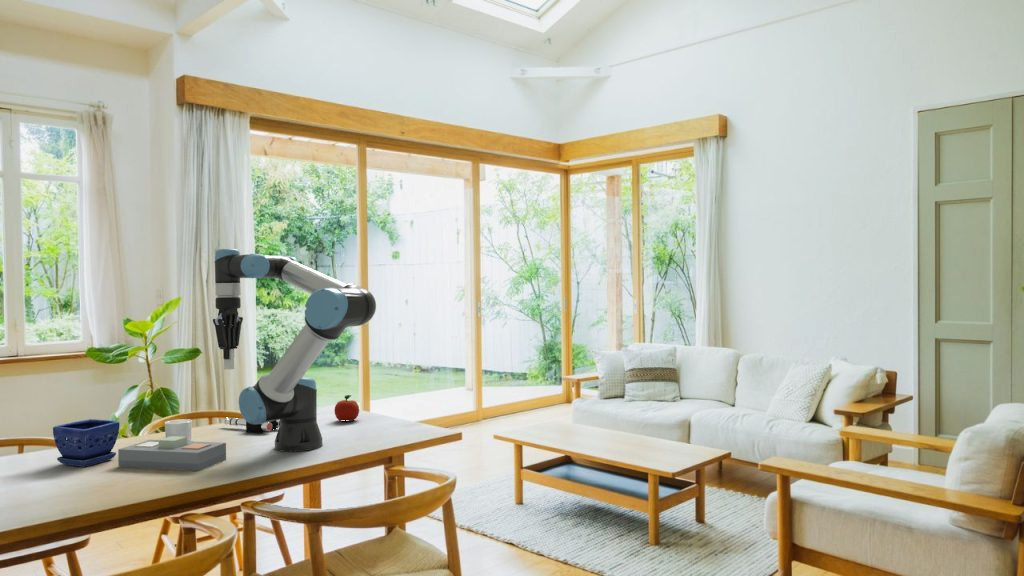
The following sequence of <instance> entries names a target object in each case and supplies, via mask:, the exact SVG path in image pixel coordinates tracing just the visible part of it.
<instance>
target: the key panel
mask: <svg viewBox="0 0 1024 576" xmlns="http://www.w3.org/2000/svg"><path fill="white" fill-rule="evenodd" d="M159 440H160V439H148V440H145V441H141V442H138V443H135V444H132V445H128V446H124V447H121V448H118V449H117V453H118V454H117V456H118V459H117V460H118V468H134V469H135V468H137V469H152V470H153V469H155V470H172V471H177V470H178V471H193V472H194V471H195V472H200V471H201V470H204V469H206V468H209V467H211V466H214V465H216V464H219V463H221V462H223V461H226V460H227V443H226V442H218V441H217V442H215V441H196V440H195V441H194V440H193V441H192V440H191V441H187V445H185V446H182V447H179V448H176V449H167V448H159V446H156V447H152V448H144V447H136V445H140V444H143V443H146V442H159ZM191 444H210V446H208V447H205V448H202V449H199V450H191V449H182V448H183V447H186V446H188V445H191Z"/></svg>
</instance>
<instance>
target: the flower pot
mask: <svg viewBox="0 0 1024 576" xmlns="http://www.w3.org/2000/svg"><path fill="white" fill-rule="evenodd" d="M119 433H120V422H119V421H116V420H107V419H96V418H95V419H93V418H90V419H89V418H88V419H84V420H79V421H73V422H69V423H64V424H59V425H58V424H57V425H55V426H53V427H52V435H53V440H54V442H55V446H56V448H57V450H58V452H59V454H61V456H59V457H57V458H56V460H57V461H58V462H59V463H60V464H62V465H67V466H73V465H74V466H76V467H83V468H86V467H88V466H92V465H97V464H100V463H104V462H107V461H111V460H112V459H113V458H114V457H115V456H116V455H117V452H116V451H115V452H114V451H112V450H113V449H114V447H115V445H116V442H117V440H118V436H119ZM96 463H97V464H96ZM74 466H73V467H74ZM85 466H86V467H85Z"/></svg>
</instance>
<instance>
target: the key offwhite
mask: <svg viewBox="0 0 1024 576" xmlns="http://www.w3.org/2000/svg"><path fill="white" fill-rule="evenodd" d="M156 446H159V442H146V443H143V444H140V445H136V447H144V448H152V447H156Z"/></svg>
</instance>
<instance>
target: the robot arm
mask: <svg viewBox="0 0 1024 576" xmlns="http://www.w3.org/2000/svg"><path fill="white" fill-rule="evenodd" d="M214 254H215V255H214V275H215V276H214V278H215V279H214V281H215V283H214V284H215V296H216V298H215V309H216V310H218V313H217V317H216V318H213V319H212V322H213V324H214V329H215V334H216V338H217V346H218V348H219V350H223V351H222V352H223V353H222V354H223V357H222V358H223V370H234V369H235V349H238V346H239V345H240V338H241V337H240V336H241V331H242V323H243V320H244V317H243V316H239V311H238V309H240V308H241V306H242V305H241V304H242V303H241V297H239V296H241V279H277V280H281V281H282V282H284V283H287V284H289V285H291V286H293V287H295V288H297V289H300V290H301V291H304V292H305V293H308V294H310V295H309V297H308V298H307V299H306V303H305V308H306V309H305V310H304V322H305V324H304V326H303V327H302V329H301V330H300V331H299V332H298V334H297V335H296V337H295V338H294V339H293V341H292V342H291V343H290V345H289V346H288V348H287V349H286V350H285V351H284V353H283V355H282V356H281V357H280V359H279V360H278V361H277V363H276V364H275V365H274V367H273V368H272V369H271V371H270V372H269V373H264V374H262V376H260V377H259V379H258V380H257V382H256V383H255V384H254V385H253V386H247V387H246V388H244V389H242V390H241V391H240V394H239V396H238V408H239V412H240V415H241V416H242V419H245V420H246V421H247V422H248V423H250V424H263V423H266V422H271V421H275V420H279V419H280V426H279V428H277V429H278V430H277V432H276V433H277V434H276V436H275V439H274V449H275V450H276V451H280V452H302V451H303V452H304V451H310V450H313V449H318V448H321V447H322V446H323V436H322V433H321V430H320V428H319V425H318V422H317V415H318V414H317V413H318V412H317V410H318V408H317V407H318V406H317V405H318V404H317V396H318V395H317V391H318V389H317V382H316V379H314V378H313V377H307V376H306V377H305V376H304V375H305V374H306V373H307V372H308V370H309V369H310V368H311V366H312V365H313V364H314V362H315V361H316V360H317V358H318V357H319V356H320V354H321V353H322V351H323V350H324V349H325V348H326V347H327V345H328V344H329V342H330V341H336V340H338V339H339V337H340V336H341V335H342V333H343V332H344V331H345V330H346V329H347V328H351V327H359V326H363V325H366V324H367V323H368V322H370V321H371V320H372V319H373V318H374V315H375V314H376V310H377V302H376V299H375V296H374V295H373V293H372V292H371V291H369V290H368V289H366V288H364V287H362V286H359V285H356V284H355V283H351V282H350V283H347V284H346V283H344V282H342V281H340V280H338V279H335V278H333V277H331V276H328V275H326V274H324V273H321V272H320V271H317V270H314V268H311V267H308V266H305V265H304V264H302V263H299V261H298V260H297V258H296V257H294V256H290V255H270V254H269V255H268V254H260V253H249V254H241V252H240V250H239V249H235V248H221V249H217V250H216V251H215V252H214Z"/></svg>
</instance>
